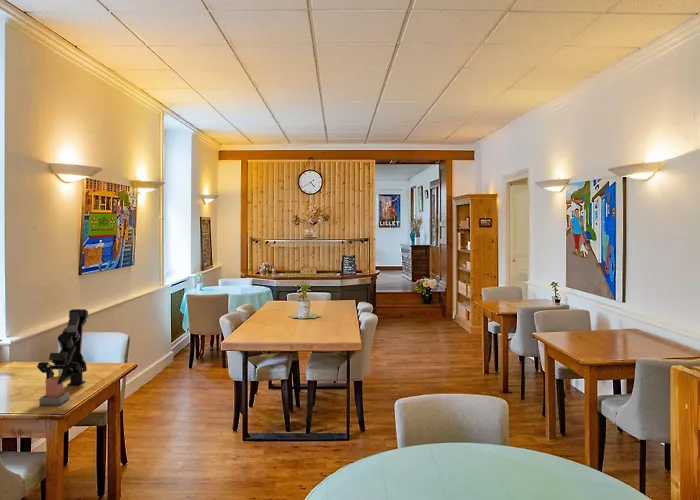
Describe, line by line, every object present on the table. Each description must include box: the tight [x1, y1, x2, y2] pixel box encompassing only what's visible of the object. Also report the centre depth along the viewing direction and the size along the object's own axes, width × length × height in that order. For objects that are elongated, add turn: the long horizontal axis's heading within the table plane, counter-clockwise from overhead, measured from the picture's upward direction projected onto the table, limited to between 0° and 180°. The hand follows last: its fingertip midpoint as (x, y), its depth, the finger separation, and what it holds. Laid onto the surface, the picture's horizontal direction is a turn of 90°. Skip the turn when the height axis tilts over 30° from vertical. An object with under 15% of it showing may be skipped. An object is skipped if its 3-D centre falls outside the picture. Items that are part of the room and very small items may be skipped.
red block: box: [45, 376, 64, 398], centre depth 242 cm, size 5×5×9 cm
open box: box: [38, 391, 70, 407], centre depth 242 cm, size 9×9×4 cm
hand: (52, 384), depth 241 cm, fingers closed on red block, 5 cm apart
